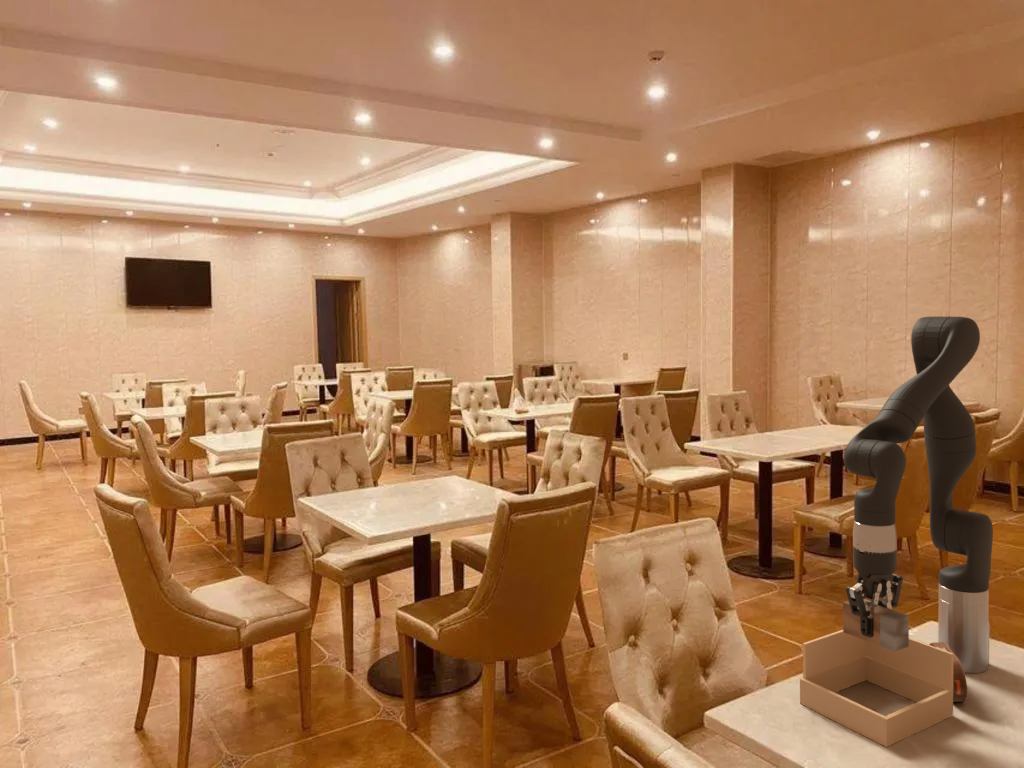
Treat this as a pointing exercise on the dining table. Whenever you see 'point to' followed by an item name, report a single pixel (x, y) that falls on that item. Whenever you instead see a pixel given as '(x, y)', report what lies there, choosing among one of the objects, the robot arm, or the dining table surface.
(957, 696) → the tin
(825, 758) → the dining table surface
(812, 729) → the dining table surface
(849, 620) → the box
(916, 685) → the carton
